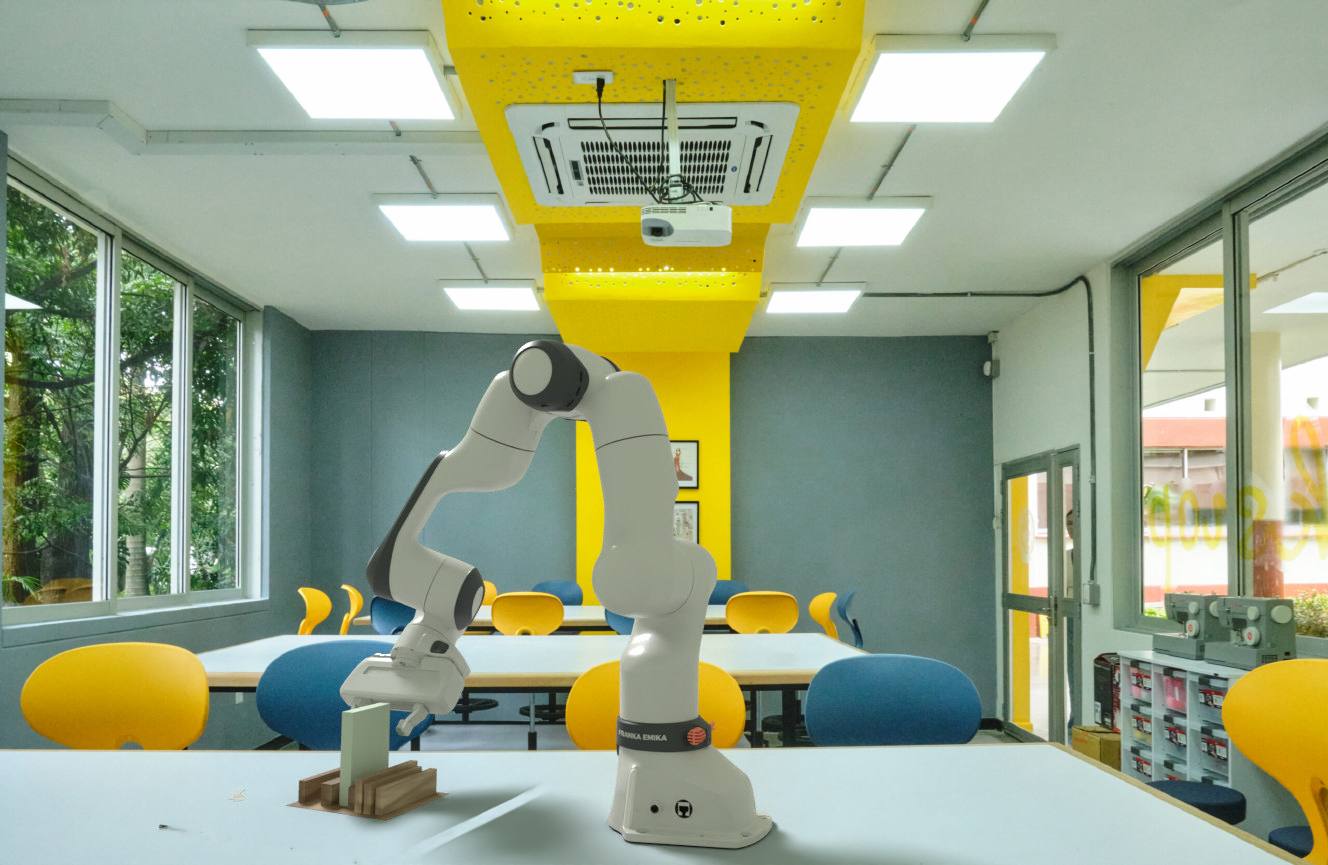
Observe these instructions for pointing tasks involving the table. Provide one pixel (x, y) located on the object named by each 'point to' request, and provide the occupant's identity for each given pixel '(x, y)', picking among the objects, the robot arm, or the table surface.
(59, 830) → the table surface
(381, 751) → the pale green flat block
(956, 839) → the table surface
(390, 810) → the offcut rack
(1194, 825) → the table surface
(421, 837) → the table surface
